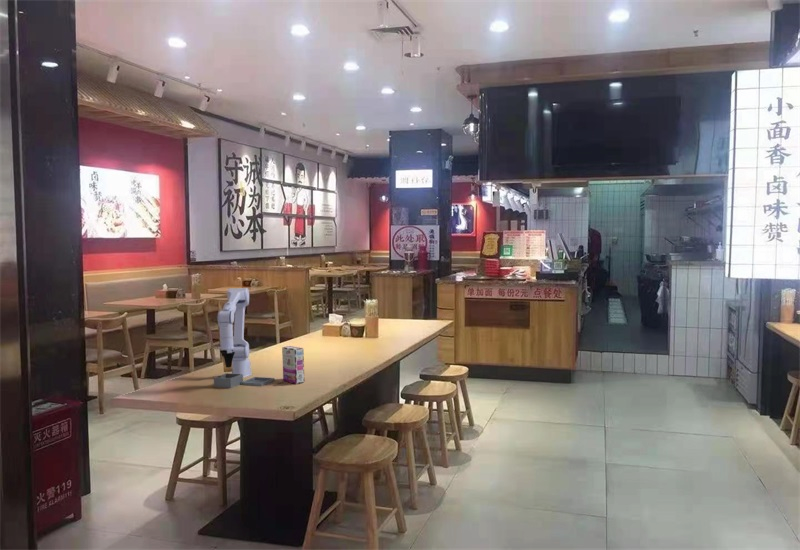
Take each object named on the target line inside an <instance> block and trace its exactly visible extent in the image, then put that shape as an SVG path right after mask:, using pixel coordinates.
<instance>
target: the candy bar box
mask: <svg viewBox="0 0 800 550" xmlns="http://www.w3.org/2000/svg"><path fill="white" fill-rule="evenodd" d="M281 348H282V349H281V353H282V379H283V382H286V383H291V384H294V385H298V384H304V383H305V361H304V359H305V358H304V355H305V354H304V347H300V346H299V347H298V346H293V345H289V346H288V345H286V346H282V347H281Z"/></svg>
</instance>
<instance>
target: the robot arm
mask: <svg viewBox="0 0 800 550" xmlns="http://www.w3.org/2000/svg"><path fill="white" fill-rule="evenodd" d="M226 297H227V300H228V301H227V302H225V303H224V304H223V307H222V309H221V311H219V312H217V317H216V318H217V323H218V328H219V339H220V341H219V342H220V343H219V344H220V346H218V347H217V349H218V350H219V352H220V355H221V356H222V358H223V357H224V360H225V364H226V367H231V365H232V367H233V371H232V372H231V374H243V379H244V378H246V377H248V376H249V377H250V376H253V374H252V368H251V361H250V359H249V357H250V344H249V342H248V341H246V340H245V339H244V338H245V337H244V336H245V334H244V333H245V316H246V315H245V313H246V312H245V311H246V307H247V306H249V305H250V291H249V288H248V287H239V288H237V287H236V288H231V287H229V288H228V289H227V290H226ZM233 324H234V326H233Z"/></svg>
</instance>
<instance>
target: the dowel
mask: <svg viewBox="0 0 800 550" xmlns="http://www.w3.org/2000/svg"><path fill="white" fill-rule="evenodd" d="M222 364H223V365H222V366H223V373H232V371H233V367H232V365H231V367H226V364H225V360H224V357H222Z"/></svg>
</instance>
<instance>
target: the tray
mask: <svg viewBox="0 0 800 550" xmlns="http://www.w3.org/2000/svg"><path fill="white" fill-rule="evenodd" d="M275 380H276V379H275V377H265V376H264V377H262V376H261V377H260V376H253V377H251V378H248V379H245V380H243V382H241V386H251V387H253V386H255V387H263V386H265V385H268V384H271V383H272V382H275Z"/></svg>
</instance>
